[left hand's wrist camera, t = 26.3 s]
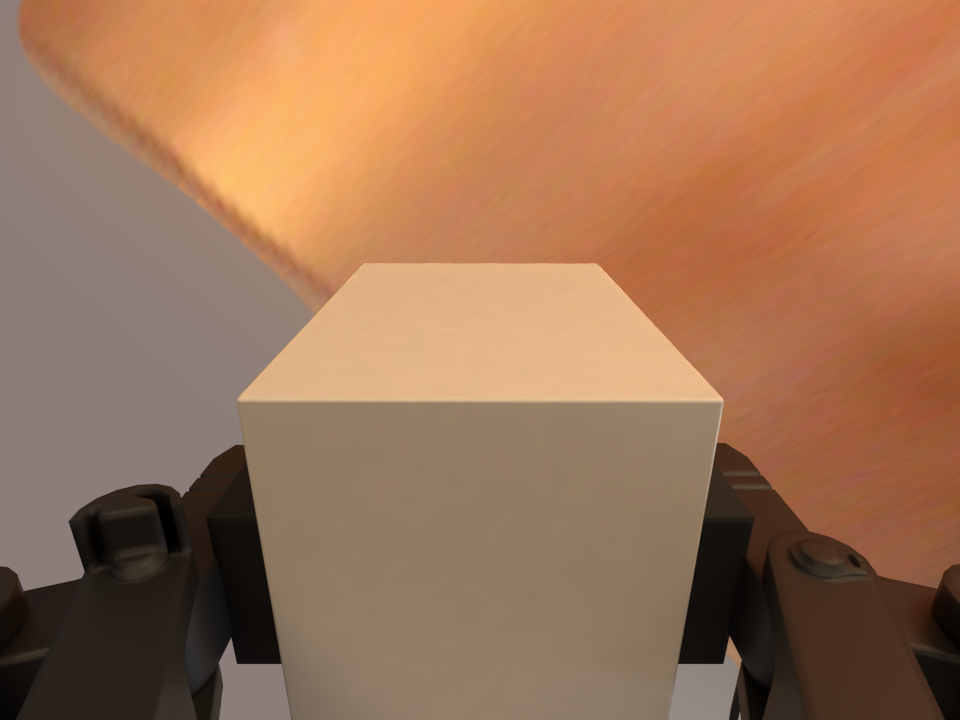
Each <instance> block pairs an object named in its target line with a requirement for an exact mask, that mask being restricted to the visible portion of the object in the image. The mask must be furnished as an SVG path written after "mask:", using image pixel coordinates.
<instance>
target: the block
mask: <svg viewBox="0 0 960 720" xmlns="http://www.w3.org/2000/svg"><path fill="white" fill-rule="evenodd" d="M723 404H724V401H723V398H722V397H721V396H720V395H719V394H718V393H717V392H716V391H715V390H714V389H713V388H712V387H711V385H710V384H709V383H708V382H707V381H706V380H705V379H704V378H703V377H702V376H701V375H700V374H699V373H698V371H697V370H696V369H695V368H694V367H693V366H692V365H691V364H690V363H689V362H688V361H687V360H686V359H685V357H684V356H683V355H682V354H681V353H680V352H679V351H678V350H677V349H676V348H675V347H674V346H673V345H672V344H671V342H670V341H669V340H668V339H667V338H666V337H665V336H664V335H663V334H662V333H661V332H660V331H659V330H658V328H657V327H656V326H655V325H654V324H653V323H652V322H651V321H650V320H649V319H648V318H647V317H646V316H645V314H644V313H643V312H642V311H641V310H640V309H639V308H638V307H637V306H636V305H635V304H634V303H633V302H632V300H631V299H630V298H629V297H628V296H627V295H626V294H625V293H624V292H623V291H622V290H621V289H620V288H619V286H618V285H617V284H616V283H615V282H614V281H613V280H612V279H611V278H610V277H609V276H608V275H607V274H606V272H605V271H604V270H603V269H602V268H601V267H600V266H599V265H598V264H371V263H364V264H363V265H362V266H361V267H360V268H359V269H358V270H357V271H356V272H355V273H354V274H353V275H352V276H351V277H350V278H349V279H348V281H347V282H346V283H345V284H344V285H343V286H342V287H341V288H340V289H339V290H338V291H337V292H336V293H335V294H334V295H333V297H332V298H331V299H330V300H329V301H328V302H327V303H326V304H325V305H324V306H323V307H322V308H321V309H320V310H319V311H318V313H317V314H316V315H315V316H314V317H313V318H312V319H311V320H310V321H309V322H308V323H307V324H306V325H305V327H304V328H303V329H302V330H301V331H300V332H299V333H298V334H297V335H296V336H295V337H294V338H293V339H292V340H291V341H290V343H289V344H288V345H287V346H286V347H285V348H284V349H283V350H282V351H281V352H280V353H279V354H278V355H277V356H276V357H275V358H274V360H273V361H272V362H271V363H270V364H269V365H268V366H267V367H266V368H265V369H264V370H263V371H262V372H261V373H260V374H259V376H258V377H257V378H256V379H255V380H254V381H253V382H252V383H251V384H250V385H249V386H248V387H247V388H246V390H245V391H244V392H243V393H242V394H241V395H240V396H239V397H238V398H237V407H238V413H239V419H240V425H241V430H242V436H243V442H244V448H245V454H246V460H247V465H248V471H249V477H250V483H251V489H252V494H253V500H254V506H255V512H256V518H257V523H258V529H259V535H260V541H261V546H262V552H263V558H264V564H265V570H266V575H267V581H268V587H269V593H270V599H271V604H272V610H273V616H274V622H275V628H276V633H277V639H278V645H279V651H280V657H281V662H282V668H283V674H284V680H285V685H286V691H287V697H288V703H289V708H290V714H291V720H668V718H669V712H670V707H671V701H672V695H673V689H674V684H675V678H676V672H677V667H678V661H679V655H680V649H681V644H682V638H683V632H684V627H685V621H686V615H687V609H688V604H689V598H690V592H691V587H692V581H693V575H694V569H695V564H696V558H697V552H698V547H699V541H700V535H701V530H702V524H703V518H704V512H705V507H706V501H707V495H708V490H709V484H710V478H711V472H712V467H713V461H714V455H715V450H716V444H717V438H718V432H719V427H720V421H721V415H722V410H723Z"/></svg>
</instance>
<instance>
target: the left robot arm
mask: <svg viewBox="0 0 960 720" xmlns="http://www.w3.org/2000/svg"><path fill="white" fill-rule="evenodd" d="M69 524H70V527H71V530H72V533H73V536H74V540H75V543H76V546H77V549H78V552H79V555H80V558H81V561H82V564H83V568H84V571H85V573H84V575H83V577H82V578H81V579H78V580H74V581H69V582H65V583H60V584H56V585H51V586H46V587H41V588H37V589H32V590H27V591H23V588H22V586H21V583H20V580H19V578H18V575H17V574H16V573H15V572H14V571H12V570H11V569H10V568H8V567H0V720H219V715H220V707H221V698H222V690H223V683H222V676H221V671H220V666H219V661H220V659H221V657H222V655H223V653H224V651H225V649H226V647H227V645H228V643H229V641H230V639H231V638H232V642H233V647H234V651H235V656H236V661H237V664H282V662H281V657H280V651H279V645H278V639H277V633H276V628H275V622H274V616H273V610H272V604H271V599H270V593H269V587H268V581H267V575H266V570H265V564H264V558H263V552H262V546H261V541H260V535H259V529H258V523H257V518H256V512H255V506H254V500H253V494H252V489H251V483H250V477H249V471H248V465H247V460H246V454H245V448H244V445H235V446H233V447H232V448H230V449H228V450H227V451H225V452H224V453H222V454H221V455H219V456H217V457H216V458H214V459H213V460H212V462H211V463H210V464H209V465H208V466H207V468H206V469H205V470H204V471H203V473H202V474H201V477H200V478H197V480H196V481H195V482H194V483H193V484H192V486H191V487H190V488H189V492H186V493H185V494H184V495H183V497H182V498H181V497H180V493H179V492H177V491H176V490H175V489H173V488H172V487H170V486H165V485H160V484H147V485H136V486H132V487H128V488H123V489H119V490H116V491H113V492H111V493H109V494H106V495H104V496H101V497H99V498H97V499H95V500H93V501H92V502H90V503H89V504H87V505H86V506H84V507H83V508H81V509H80V510H79V511H78V512H77V513H76V514H75V515H74V516H73V517H72V518H71V520H70V521H69ZM729 635H730V637H731V639H732V641H733V643H734V645H735V647H736V649H737V651H738V653H739V655H740V657H741V659H742V662H741V666H740V671H739V675H738V679H737V684H736V688H735V692H734V697H733V701H732V705H731V710H730V717H729V720H738V717H739V713H740V714H741V720H960V564H957V565H953V566H951V567H950V568H949V569H947V570H946V571H945V572H944V574H943V577H942V579H941V582H940V585H939V587H938V589H936V588H931V587H926V586H922V585H917V584H912V583H907V582H903V581H898V580H893V579H889V578H885V577H881V576H878V575H877V574H876V572H875V570H874V569H873V568H872V566H871V565H870V564H869V562H868V561H867V560H866V558H864V557H863V556H862V555H860V554H859V553H858V552H856V551H855V550H854V549H852V548H851V547H850V546H848V545H846V544H844V543H842V542H839V541H837V540H835V539H833V538H831V537H828V536H824V535H821V534H817V533H813V532H809V530H808V529H807V528H806V527H805V526H804V525H803V523H802V522H801V521H800V520H799V519H798V517H797V516H796V515H795V514H794V513H793V511H792V510H791V509H790V508H789V507H788V505H787V504H786V503H785V502H784V501H783V499H782V498H781V497H780V496H779V495H778V493H777V492H776V491H775V490H772V488H771V485H770V484H769V483H768V481H767V480H766V479H765V478H764V477H763V476H761V475H760V472H759V471H758V469H757V468H756V467H755V466H754V465H753V463H752V462H751V461H750V460H749V459H748V457H746V456H745V455H743V454H742V453H740V452H738V451H737V450H735V449H734V448H732V447H731V446H729V445H727V444H726V443H717V444H716V450H715V455H714V461H713V467H712V472H711V478H710V484H709V490H708V495H707V501H706V507H705V512H704V518H703V524H702V530H701V535H700V541H699V547H698V552H697V558H696V564H695V569H694V575H693V581H692V587H691V592H690V598H689V604H688V609H687V615H686V621H685V627H684V632H683V638H682V644H681V649H680V655H679V661H678V664H723V663H724V658H725V653H726V649H727V644H728V639H729Z"/></svg>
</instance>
